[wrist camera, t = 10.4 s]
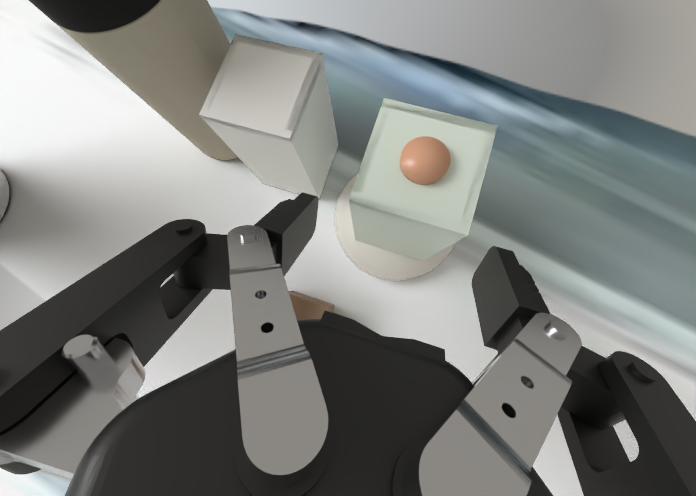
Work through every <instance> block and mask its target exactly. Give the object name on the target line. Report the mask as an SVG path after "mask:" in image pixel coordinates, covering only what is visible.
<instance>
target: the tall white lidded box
mask: <svg viewBox="0 0 696 496" xmlns="http://www.w3.org/2000/svg"><path fill="white" fill-rule="evenodd" d="M199 115H200V116H201V117H202V119H203V120H204V121H205V122H206V123H207V124H208V125H209V126H210V127H211V128H212V129H213V130H214V132H215V133H216V134H217V135H218V136H219V137H220V138H221V139H222V140H223V141H224V142H225V143H226V144H227V146H228V147H229V148H230V149H231V150H232V151H233V152H234V153H235V154H236V155H237V156H238V157H239V159H240V160H241V161H242V162H243V163H244V164H245V165H246V166H247V167H248V168H249V169H250V170H251V172H252V173H253V174H254V175H255V176H256V177H257V178H258V179H259V180H260V181H261V182H262V183H263V184H266V185H270V186H273V187H276V188H280V189H283V190H287V191H290V192H294V193H297V194H301V193H302V192H304V193H307V194H311V195H314V196H318V200H319V199H320V196H321V193H322V191H323V188H324V185H325V182H326V179H327V176H328V173H329V171H330V168H331V165H332V162H333V159H334V156H335V154H336V151H337V148H338V139H337V134H336V128H335V122H334V116H333V110H332V105H331V99H330V93H329V87H328V81H327V76H326V70H325V64H324V58H323V53H318V52H314V51H309V50H305V49H300V48H296V47H291V46H287V45H282V44H278V43H273V42H268V41H264V40H259V39H255V38H250V37H246V36H241V35H237V34H235V36H234V38H233V40H232V42H231V45H230V47H229V49H228V51H227V54H226V56H225V58H224V60H223V62H222V65H221V67H220V69H219V71H218V73H217V76H216V78H215V80H214V82H213V85H212V87H211V89H210V91H209V93H208V96H207V98H206V100H205V102H204V105H203V107H202V109H201V111H200V113H199Z"/></svg>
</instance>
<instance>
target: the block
mask: <svg viewBox="0 0 696 496" xmlns="http://www.w3.org/2000/svg"><path fill="white" fill-rule="evenodd" d="M288 292H289V296H290V299H291V302H292V306H293V309H294V312H295V316H296V319H297V320H302V319H313V318H317V319H321V318H322V315H323V313H324V311H328V312H331V313H332V310H333V307H334V305H333V304H330V303H327V302H324V301H321V300H318V299H315V298H312V297H309V296H306V295H303V294H300V293H297V292H294V291H288Z"/></svg>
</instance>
